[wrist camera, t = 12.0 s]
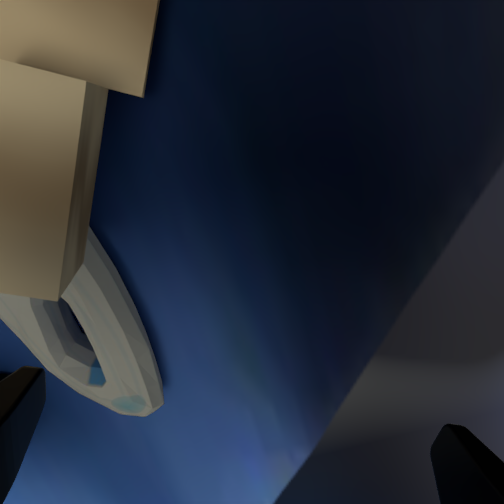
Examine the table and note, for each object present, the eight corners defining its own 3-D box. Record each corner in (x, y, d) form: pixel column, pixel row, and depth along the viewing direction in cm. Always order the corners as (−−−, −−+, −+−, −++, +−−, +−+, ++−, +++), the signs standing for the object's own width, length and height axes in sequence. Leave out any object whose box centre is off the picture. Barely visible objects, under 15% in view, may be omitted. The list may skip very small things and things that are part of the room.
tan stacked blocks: (115, 267, 18) (98, 307, 14) (-30, 243, 17) (-90, 279, 13) (178, -115, 15) (178, -194, 11) (-1, -181, 13) (-72, -296, 10)
